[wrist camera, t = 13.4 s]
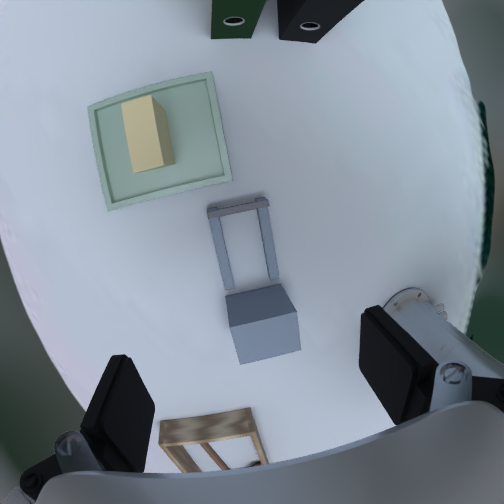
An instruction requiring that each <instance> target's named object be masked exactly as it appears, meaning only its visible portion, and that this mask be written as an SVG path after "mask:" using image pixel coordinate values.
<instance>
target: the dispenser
mask: <svg viewBox="0 0 504 504" xmlns="http://www.w3.org/2000/svg"><path fill="white" fill-rule="evenodd" d="M268 206H269V201H268V199H266V198H265V197H262V198H257V199H255V202H250V203H245V204H241V205H236V206H231V207H226V208H222V209H217V207H214V208H209V209H207V214H208V219H209V221H210V225H211V230H212V234H213V239H214V243H215V247H216V252H217V256H218V260H219V264H220V269H221V273H222V277H223V281H224V285H225V289H226V290H230V289H234V284H233V279H232V275H231V271H230V266H229V262H228V257H227V253H226V248H225V244H224V239H223V235H222V230H221V225H220V221H219V217H220V216H225V215H229V214H234V213H239V212H244V211H248V210H253V209H257V212H258V217H259V223H260V229H261V234H262V240H263V246H264V251H265V257H266V263H267V268H268V274H269V278H270V280H274V279H278V278H279V273H278V267H277V261H276V254H275V248H274V242H273V236H272V230H271V224H270V218H269V212H268ZM225 297H226V304H227V311H228V318H229V325H230V330H231V333H232V337H233V341H234V344H235V348H236V352H237V355H238V359H239V362H240V365H241V364H246V363H251V362H255V361H259V360H264V359H268V358H272V357H276V356H280V355H284V354H287V353H291V352H295V351H299V350H301V344H300V335H299V326H298V318H297V311H296V309H295V308H294V306H293V304H292V302H291V301H290V299H289V297H288V295H287V294H286V292H285V290H284V289H283V287H282V285H281V284H278V285H274V286H270V287H265V288H261V289H257V290H252V291H248V292H243V293H239V294H235V295H230V296H225Z"/></svg>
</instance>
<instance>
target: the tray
mask: <svg viewBox="0 0 504 504" xmlns="http://www.w3.org/2000/svg"><path fill="white" fill-rule="evenodd" d="M148 95H152V96H153V97H154V99H155V100H156V101H157V102H158V103H159V104H160V105H161V106H162V108H163V109H164V110H165V112H166V118H167V123H168V129H169V134H170V140H171V145H172V150H173V155H174V160H175V164H174V165H170V166H166V167H162V168H158V169H154V170H150V171H144V172H139V173H133V169H132V164H131V159H130V154H129V149H128V143H127V138H126V132H125V126H124V120H123V114H122V107H121V104H122V103H125V102H128V101H132V100H135V99H138V98H141V97H145V96H148ZM88 115H89V122H90V129H91V135H92V141H93V147H94V152H95V157H96V163H97V167H98V172H99V177H100V181H101V186H102V190H103V194H104V198H105V203H106V206H107V210H108V211H112V210H115V209H119V208H122V207H126V206H129V205H133V204H136V203H140V202H144V201H148V200H151V199H155V198H159V197H163V196H167V195H171V194H175V193H179V192H183V191H188V190H192V189H196V188H201V187H205V186H210V185H214V184H219V183H224V182H229V181H233V180H232V175H231V170H230V165H229V160H228V155H227V149H226V144H225V139H224V134H223V129H222V123H221V118H220V113H219V108H218V102H217V97H216V92H215V86H214V81H213V76H212V71H211V72H206V73H200V74H195V75H191V76H186V77H181V78H177V79H173V80H169V81H165V82H161V83H157V84H153V85H150V86H146V87H143V88H140V89H136V90H133V91H130V92H127V93H124V94H121V95H118V96H115V97H112V98H109V99H106V100H104V101H101V102H98V103H96V104H93V105H90V106H88Z"/></svg>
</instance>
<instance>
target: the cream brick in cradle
mask: <svg viewBox="0 0 504 504" xmlns="http://www.w3.org/2000/svg"><path fill="white" fill-rule="evenodd" d="M121 107H122V114H123V120H124V126H125V132H126V138H127V143H128V149H129V154H130V159H131V164H132V169H133V173H139V172H144V171H150V170H154V169H158V168H162V167H166V166H170V165H174V164H175V160H174V155H173V150H172V145H171V140H170V134H169V129H168V123H167V118H166V112H165V110H164V109H163V108H162V106H161V105H160V104H159V103H158V102H157V101H156V100H155V99H154V97H153V96H152V95H148V96H145V97H141V98H138V99H135V100H132V101H128V102H125V103H122V104H121Z"/></svg>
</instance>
